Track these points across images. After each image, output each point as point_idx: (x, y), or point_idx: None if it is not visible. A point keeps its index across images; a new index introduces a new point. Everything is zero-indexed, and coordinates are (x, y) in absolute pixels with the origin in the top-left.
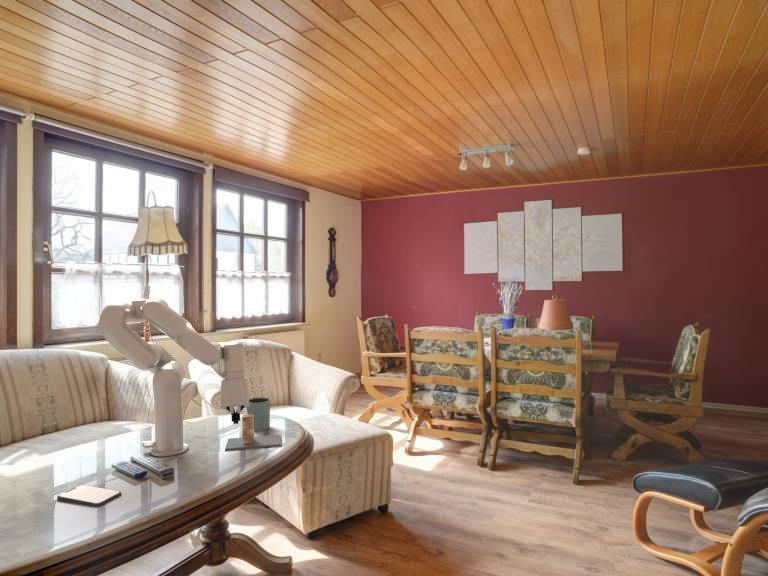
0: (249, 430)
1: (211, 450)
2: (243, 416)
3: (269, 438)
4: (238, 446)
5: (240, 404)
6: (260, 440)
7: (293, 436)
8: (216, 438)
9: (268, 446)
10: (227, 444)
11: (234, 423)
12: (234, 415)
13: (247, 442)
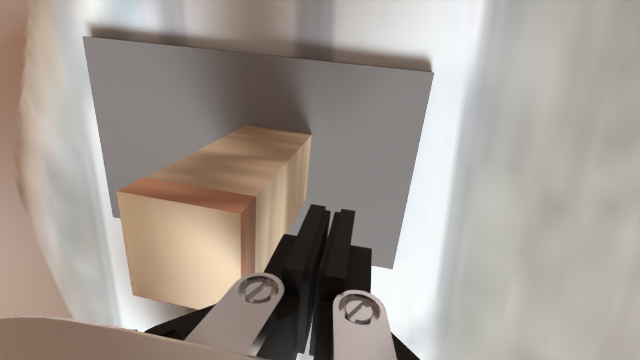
0: (233, 151)
1: (521, 120)
2: (229, 247)
3: None
4: (340, 89)
5: (121, 340)
6: None
7: (61, 188)
8: (453, 323)
9: (159, 44)
10: (408, 161)
11: (345, 210)
12: (330, 259)
13: (280, 131)
